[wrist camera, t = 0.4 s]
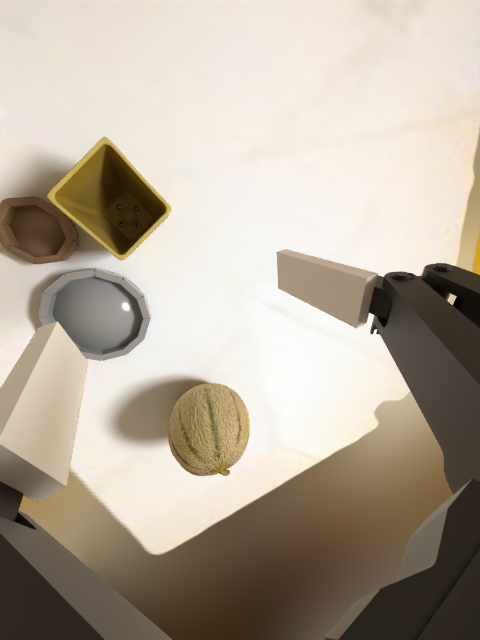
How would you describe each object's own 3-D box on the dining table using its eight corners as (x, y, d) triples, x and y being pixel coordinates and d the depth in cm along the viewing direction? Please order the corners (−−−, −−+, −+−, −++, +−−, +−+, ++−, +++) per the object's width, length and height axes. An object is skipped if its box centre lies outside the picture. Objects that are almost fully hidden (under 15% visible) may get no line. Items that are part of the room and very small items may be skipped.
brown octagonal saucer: (-7, 204, 26) (-21, 200, 24) (63, 199, 28) (56, 195, 26) (24, 266, 28) (14, 267, 27) (86, 257, 30) (80, 257, 28)
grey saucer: (28, 278, 29) (18, 280, 27) (134, 262, 33) (132, 263, 31) (70, 363, 34) (65, 370, 32) (159, 341, 37) (158, 346, 36)
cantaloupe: (204, 355, 41) (222, 406, 28) (248, 393, 47) (281, 449, 34) (150, 407, 41) (141, 485, 27) (202, 438, 47) (216, 513, 34)
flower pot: (78, 211, 29) (42, 195, 20) (122, 167, 29) (104, 133, 21) (133, 259, 32) (121, 262, 24) (172, 220, 32) (173, 209, 24)
